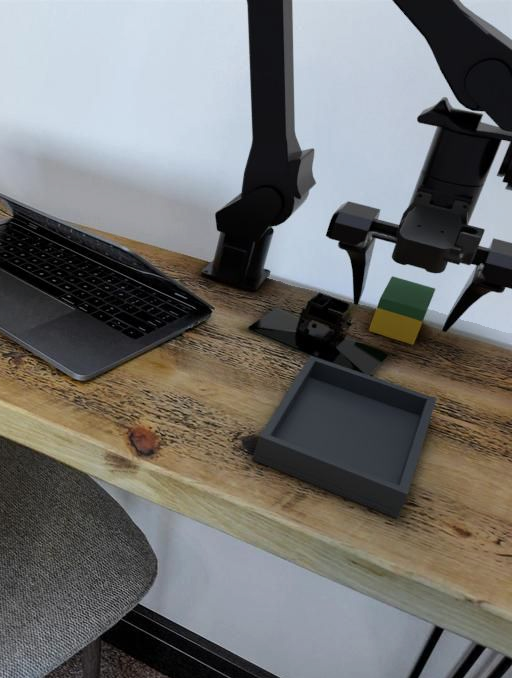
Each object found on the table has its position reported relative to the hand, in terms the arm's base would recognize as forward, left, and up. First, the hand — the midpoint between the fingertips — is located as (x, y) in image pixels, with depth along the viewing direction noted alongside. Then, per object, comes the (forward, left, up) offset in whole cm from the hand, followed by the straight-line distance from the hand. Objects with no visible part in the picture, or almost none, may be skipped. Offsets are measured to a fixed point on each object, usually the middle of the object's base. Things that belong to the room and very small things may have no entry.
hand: (399, 316), depth 88 cm
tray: (+26, 0, -1) cm, 26 cm away
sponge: (0, 0, -1) cm, 1 cm away
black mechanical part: (+10, -6, -1) cm, 12 cm away
